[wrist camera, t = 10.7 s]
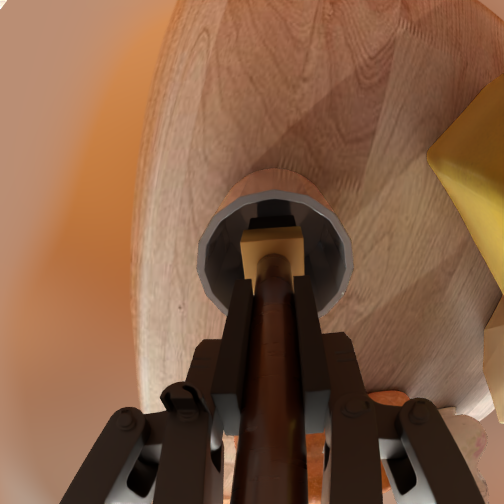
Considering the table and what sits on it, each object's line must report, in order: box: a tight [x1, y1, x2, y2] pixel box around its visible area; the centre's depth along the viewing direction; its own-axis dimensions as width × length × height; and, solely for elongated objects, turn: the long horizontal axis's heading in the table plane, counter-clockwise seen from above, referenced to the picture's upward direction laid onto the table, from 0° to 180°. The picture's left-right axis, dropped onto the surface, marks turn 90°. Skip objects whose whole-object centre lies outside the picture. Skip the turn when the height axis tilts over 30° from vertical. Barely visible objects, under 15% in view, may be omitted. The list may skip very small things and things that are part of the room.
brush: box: [230, 215, 309, 504], centre depth 12 cm, size 4×4×20 cm
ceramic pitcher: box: [438, 407, 489, 504], centre depth 28 cm, size 22×20×25 cm
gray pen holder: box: [197, 168, 354, 318], centre depth 21 cm, size 9×9×9 cm
